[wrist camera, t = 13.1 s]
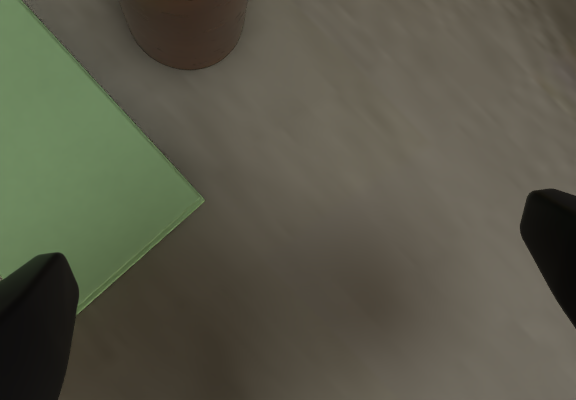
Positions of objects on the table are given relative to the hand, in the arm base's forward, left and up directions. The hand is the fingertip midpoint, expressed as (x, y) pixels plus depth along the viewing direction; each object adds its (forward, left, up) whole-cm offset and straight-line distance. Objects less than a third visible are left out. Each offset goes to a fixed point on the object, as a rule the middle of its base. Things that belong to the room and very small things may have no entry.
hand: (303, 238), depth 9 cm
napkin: (-6, +8, -12) cm, 16 cm away
